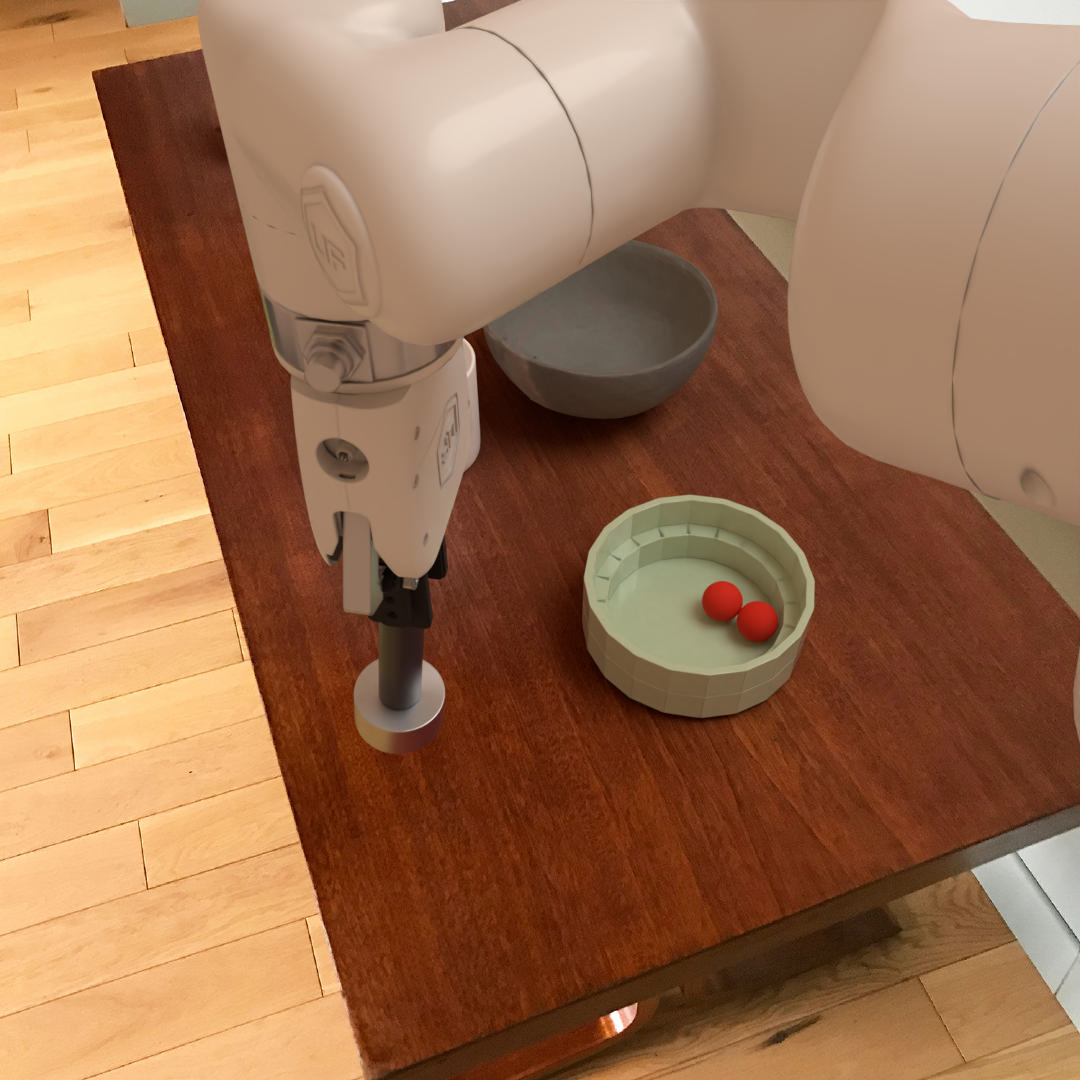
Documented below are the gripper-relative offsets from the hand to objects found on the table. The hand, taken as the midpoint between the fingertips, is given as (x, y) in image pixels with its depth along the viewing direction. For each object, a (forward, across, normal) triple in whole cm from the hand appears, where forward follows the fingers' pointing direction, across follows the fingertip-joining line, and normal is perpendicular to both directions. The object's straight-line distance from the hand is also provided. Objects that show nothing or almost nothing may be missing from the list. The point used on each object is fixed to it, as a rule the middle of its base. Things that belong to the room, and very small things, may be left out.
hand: (409, 593), depth 56 cm
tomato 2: (+21, +18, -20) cm, 34 cm away
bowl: (+24, +44, -4) cm, 50 cm away
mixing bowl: (+24, +18, -15) cm, 33 cm away
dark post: (+12, 0, +2) cm, 12 cm away
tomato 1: (+21, +19, -17) cm, 33 cm away
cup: (+24, +32, +10) cm, 41 cm away
